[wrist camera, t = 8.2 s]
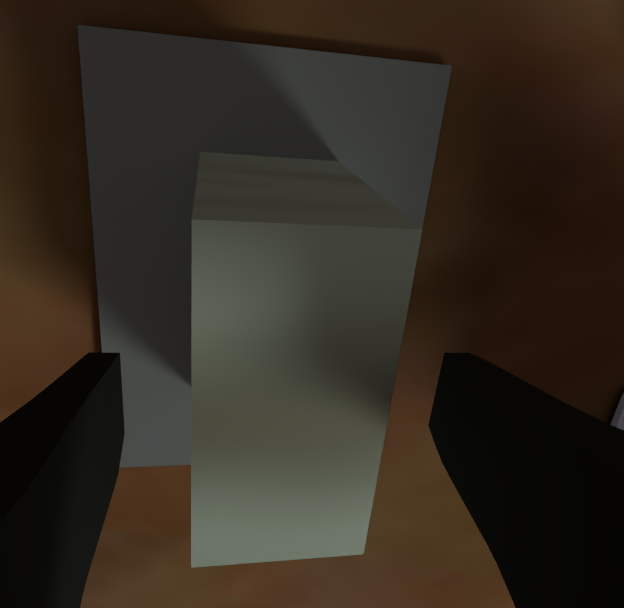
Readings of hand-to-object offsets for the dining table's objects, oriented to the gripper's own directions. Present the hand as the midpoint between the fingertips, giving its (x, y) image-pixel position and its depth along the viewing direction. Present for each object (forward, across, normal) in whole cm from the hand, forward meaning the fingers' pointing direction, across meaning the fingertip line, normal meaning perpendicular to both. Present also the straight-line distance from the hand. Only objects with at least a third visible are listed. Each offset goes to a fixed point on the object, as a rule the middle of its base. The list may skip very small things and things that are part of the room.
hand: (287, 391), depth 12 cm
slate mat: (+6, 0, 0) cm, 6 cm away
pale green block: (+6, 0, 0) cm, 6 cm away
